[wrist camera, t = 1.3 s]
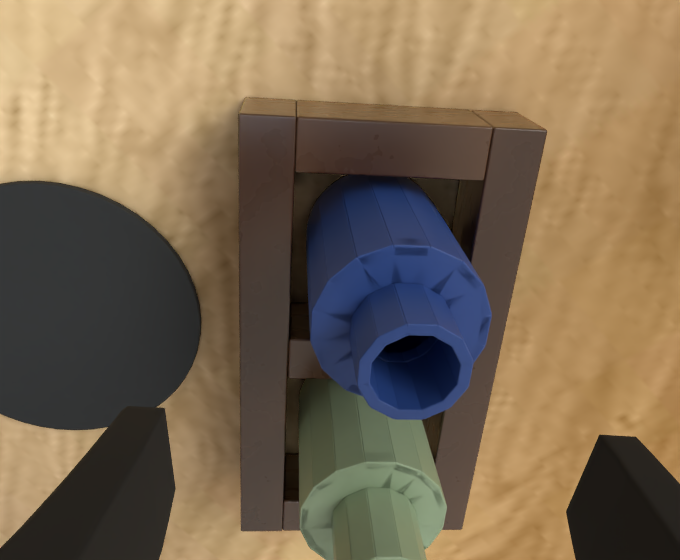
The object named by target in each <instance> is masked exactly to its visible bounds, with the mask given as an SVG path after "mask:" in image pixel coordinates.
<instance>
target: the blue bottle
mask: <svg viewBox="0 0 680 560" xmlns="http://www.w3.org/2000/svg"><path fill="white" fill-rule="evenodd" d="M306 258H307V281H308V304H309V327H310V342H311V345H312V347H313V350H314V352H315V354H316V357H317V359H318V361H319V363H320V366H321V368H322V369H323V371H324V372H326V373H327V374H328V375H329V376H330V377H331V378H332V379H333V380H334V381H336V382H337V383H338V384H339V385H340V386H341V387H342V388H343V389H345V390H346V391H349V392H352V393H354V394H357V395H360V396H363V397H364V399H365V400H366V402H367V404H368V405H369V406H370V407H371V408H372V409H374V410H376V411H378V412H380V413H382V414H384V415H386V416H388V417H390V418H392V419H395V420H422V419H426V418H428V417H431V416H433V415H436V414H438V413H440V412H443V411H445V410H447V409H449V408H451V407H452V406H453V404H454V403H455V402H456V401H457V400H458V399H459V398H460V397H461V396H462V394H463V393H464V392H465V391H466V390H467V389H468V387H469V383H470V378H471V373H472V368H473V364H474V362H475V361H476V359H477V358H478V356H479V355H480V353H481V352H482V350H483V349H484V347H485V345H486V342H487V337H488V332H489V327H490V322H491V317H492V313H491V309H490V305H489V301H488V297H487V293H486V289H485V286H484V284H483V282H482V281H481V279H480V277H479V276H478V274H477V272H476V271H475V269H474V268H473V266H472V264H471V263H470V261H469V260H468V258H467V256H466V255H465V253H464V252H463V250H462V248H461V247H460V245H459V243H458V242H457V240H456V239H455V237H454V235H453V234H452V232H451V231H450V229H449V227H448V226H447V224H446V223H445V221H444V219H443V218H442V216H441V215H440V213H439V211H438V210H437V208H436V206H435V205H434V203H433V202H432V201H431V200H430V199H429V197H428V196H427V195H426V193H425V192H424V191H423V190H422V189H421V188H420V187H419V186H418V185H417V184H416V183H415V182H413V181H412V180H410V179H409V178H407V177H389V176H367V175H347V176H345V177H343V178H341V179H339V180H337V181H336V182H334V183H333V184H332V185H330V186H329V187H328V188H327V189H326V190H325V191H324V192H323V193H322V194H321V195H320V197H319V198H318V199H317V201H316V202H315V204H314V206H313V208H312V210H311V213H310V215H309V219H308V222H307V230H306Z"/></svg>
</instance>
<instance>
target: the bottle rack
mask: <svg viewBox="0 0 680 560" xmlns="http://www.w3.org/2000/svg"><path fill="white" fill-rule="evenodd" d="M546 135H547V130H546V129H544V128H542V127H541V126H539V125H537V124H536V123H534V122H532V121H531V120H529V119H527V118H526V117H524V116H522V115H521V114H519V113H516V112H498V111H481V110H472V111H470V110H462V109H444V108H426V107H409V106H391V105H373V104H355V103H337V102H320V101H302V100H298V101H297V102H296V101H295V100H286V99H268V98H250V97H246V98H245V100H244V102H243V104H242V107H241V109H240V112H239V114H238V172H239V317H240V463H241V531H282V528H283V530H285V531H292V530H300V528H299V455H285V436H286V407H287V378H290V379H332V378H331V377H330V376H329V375H328V374H327V373H326V372H324V371H323V369H322V368H321V366H320V363H319V361H318V359H317V357H316V354H315V352H314V350H313V347H312V345H311V342H310V327H309V304H308V303H290V291H291V262H292V233H293V204H294V175H295V172H301V173H323V174H345V175H367V176H389V177H411V178H433V179H454V180H460V183H459V189H458V195H457V202H456V208H455V214H454V221H453V227H452V234H453V235H454V237H455V239H456V240H457V242H458V243H459V245H460V247H461V248H462V250H463V252H464V253H465V255H466V256H467V258H468V260H469V261H470V263H471V264H472V266H473V268H474V269H475V271H476V272H477V274H478V276H479V277H480V279H481V281H482V282H483V284H484V286H485V289H486V293H487V297H488V301H489V305H490V309H491V313H492V317H491V322H490V327H489V332H488V337H487V342H486V345H485V347H484V349H483V350H482V352H481V353H480V355H479V356H478V358H477V359H476V361H475V362H474V364H473V368H472V373H471V378H470V383H469V387H468V389H467V390H466V391H465V392H464V393H463V394H462V396H461V397H460V398H459V399H458V400H457V401H456V402H455V403H454V404H453V406H452V407H451V408H449V409H447V410H445V411H443V412H440V413H438V414H436V415H433V416H431V417H428V418H426V419H422V422H423V425H424V429H425V432H426V435H427V439H428V442H429V446H430V449H431V453H432V456H433V460H434V463H435V467H436V470H437V473H438V477H439V480H440V484H441V487H442V491H443V494H444V498H445V501H446V505H447V510H446V515H445V520H444V525H443V528H442V530H461V529H462V526H463V522H464V517H465V512H466V508H467V503H468V498H469V494H470V489H471V484H472V480H473V475H474V470H475V466H476V461H477V456H478V452H479V447H480V442H481V438H482V433H483V428H484V424H485V419H486V414H487V410H488V405H489V400H490V396H491V391H492V386H493V382H494V377H495V372H496V368H497V363H498V358H499V354H500V349H501V344H502V340H503V335H504V330H505V326H506V321H507V316H508V312H509V307H510V302H511V298H512V293H513V288H514V284H515V279H516V274H517V270H518V265H519V260H520V256H521V251H522V246H523V242H524V237H525V233H526V228H527V223H528V219H529V214H530V209H531V205H532V200H533V195H534V191H535V186H536V181H537V177H538V172H539V167H540V163H541V158H542V153H543V149H544V144H545V139H546Z"/></svg>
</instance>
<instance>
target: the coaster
mask: <svg viewBox="0 0 680 560" xmlns="http://www.w3.org/2000/svg"><path fill="white" fill-rule="evenodd" d="M200 335H201V314H200V305H199V300H198V297H197V293H196V289H195V286H194V284H193V282H192V279H191V277H190V274H189V272H188V270H187V269H186V267H185V265H184V264H183V262H182V260H181V259H180V257H179V255H178V254H177V253H176V252H175V250H174V249H173V248H172V246H171V245H170V244H169V243H168V241H167V240H166V239H165V238H164V237H163V236H162V235H161V234H160V233H159V232H158V231H157V230H156V229H155V228H154V227H153V226H151V225H150V224H149V223H147V222H146V221H145V220H144V219H142V218H141V217H140V216H139V215H137V214H136V213H134V212H132V211H131V210H129V209H128V208H126V207H124V206H123V205H121V204H119V203H117V202H115V201H113V200H111V199H109V198H107V197H105V196H103V195H100V194H97V193H94V192H91V191H89V190H86V189H83V188H79V187H75V186H70V185H66V184H61V183H53V182H44V181H17V182H10V183H3V184H0V414H2V415H4V416H7V417H10V418H13V419H15V420H18V421H21V422H24V423H28V424H32V425H36V426H41V427H47V428H53V429H65V430H88V429H97V428H104V427H109V426H110V424H111V423H112V422H113V421H114V419H115V418H116V417H117V416H118V414H119V413H120V412H121V411H122V410H123V409H124V408H126V407H127V406H138V407H154V408H155V407H157V406H158V405H160V404H161V403H162V402H164V401H165V400H166V399H167V398H168V397H169V396H170V395H171V394H172V393H173V392H174V391H176V389H177V388H178V387H179V385H180V384H181V383H182V382H183V380H184V379H185V377H186V375H187V374H188V372H189V370H190V368H191V367H192V364H193V361H194V359H195V356H196V353H197V350H198V345H199V340H200Z"/></svg>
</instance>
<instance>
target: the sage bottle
mask: <svg viewBox="0 0 680 560" xmlns="http://www.w3.org/2000/svg"><path fill="white" fill-rule="evenodd" d="M298 426H299V528H300V531H301V532H302V534H303V536H304V538H305V540H306V542H307V544H308V546H309V547H310V549H312V550H313V551H315V552H316V553H317V554H319V555H320V556H321V557H323V558H324V559H326V560H427V559H426V555H425V549H426V548H428V546H430V545H431V543H432V542H433V541H434V539H435V538H436V537H437V535H438V534H439V533H440V531H441V530H442V528H443V525H444V520H445V515H446V510H447V505H446V501H445V498H444V494H443V491H442V487H441V484H440V480H439V477H438V473H437V470H436V467H435V463H434V460H433V456H432V453H431V449H430V446H429V442H428V439H427V435H426V432H425V429H424V425H423V422H422V420H395V419H392V418H390V417H388V416H386V415H384V414H382V413H380V412H378V411H376V410H374V409H372V408H371V407H370V406H369V405H368V404H367V402H366V400H365V399H364V397H363V396H360V395H357V394H354V393H352V392H349V391H346V390H345V389H343V388H342V387H341V386H340V385H339V384H338V383H337V382H336V381H334V380H333V379H306V380H305V381H304V383H303V385H302V387H301V391H300V394H299V413H298Z"/></svg>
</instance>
